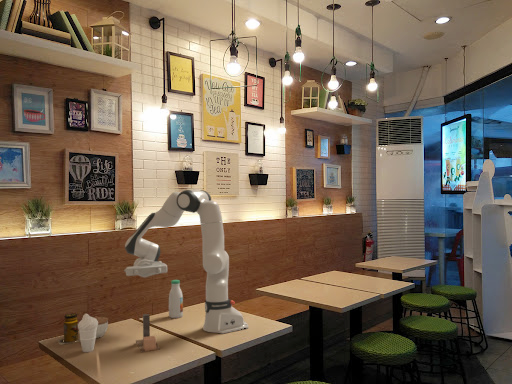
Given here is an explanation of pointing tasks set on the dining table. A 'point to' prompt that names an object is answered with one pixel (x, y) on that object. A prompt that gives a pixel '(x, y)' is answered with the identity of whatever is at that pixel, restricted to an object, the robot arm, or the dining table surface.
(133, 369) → the dining table surface
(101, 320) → the lidded jar
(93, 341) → the soft serve ice cream cone
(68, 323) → the condiment
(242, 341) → the dining table surface
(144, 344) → the terracotta block
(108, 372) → the dining table surface
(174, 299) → the milk bottle
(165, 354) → the dining table surface
